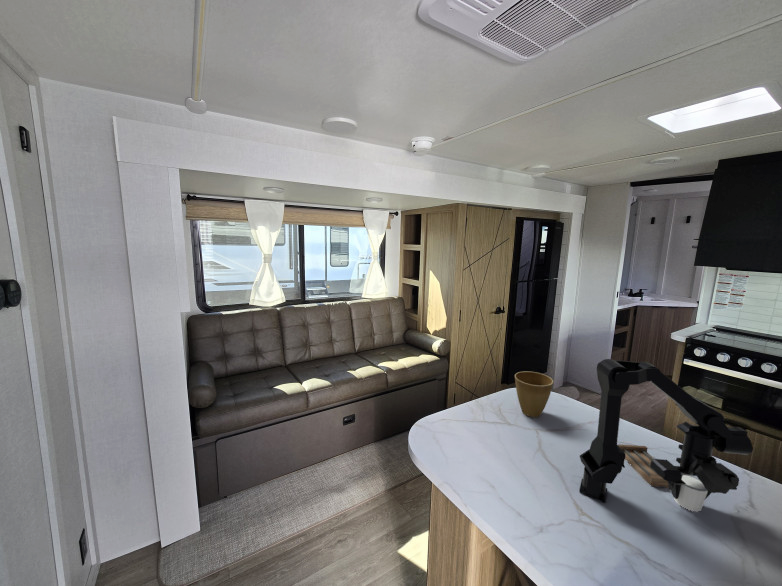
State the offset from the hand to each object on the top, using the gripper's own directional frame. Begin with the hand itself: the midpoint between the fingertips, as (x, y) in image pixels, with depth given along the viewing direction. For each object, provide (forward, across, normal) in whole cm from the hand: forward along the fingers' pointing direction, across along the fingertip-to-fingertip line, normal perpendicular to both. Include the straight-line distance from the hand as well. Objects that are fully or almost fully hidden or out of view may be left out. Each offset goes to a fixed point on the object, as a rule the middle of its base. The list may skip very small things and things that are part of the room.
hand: (688, 498), depth 88 cm
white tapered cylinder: (+2, 0, 0) cm, 2 cm away
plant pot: (+2, -27, +46) cm, 53 cm away
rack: (+2, -1, +14) cm, 14 cm away
